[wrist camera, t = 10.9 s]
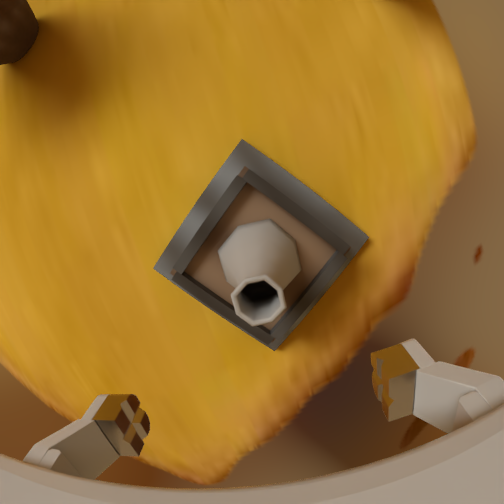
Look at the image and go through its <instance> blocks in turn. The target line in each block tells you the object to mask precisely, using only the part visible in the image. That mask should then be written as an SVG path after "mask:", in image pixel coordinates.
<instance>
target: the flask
mask: <svg viewBox="0 0 504 504" xmlns="http://www.w3.org/2000/svg"><path fill="white" fill-rule="evenodd" d="M218 254H219V258H220V261H221V265H222V268H223V272H224V276H225V279H226V281H227V282H228V283H229V284H230V285H232V286H233V287H234V288H236V289H235V290H234V291H233V292H232V293H231V298H232V302H233V305H234V309H235V312H236V315H237V316H239V317H240V318H241V319H243V320H244V321H246V322H247V323H248V324H250V325H251V326H252V327H253V326H258V325H263V324H267V323H272V322H274V321H275V319H276V318H277V317H278V316H279V315H280V314H281V313H282V312H283V311H284V310H285V309H286V308H287V306H286V301H285V297H284V292H283V290H284V289H285V288H286V287H287V286H288V284H289V283H290V282H291V281H292V280H293V279H294V278H295V277H296V275H297V274H298V273H299V272H300V271H301V265H300V260H299V255H298V251H297V246H296V242H295V239H294V238H293V237H292V236H291V235H289V234H288V233H287V232H286V231H285V230H283V229H282V228H281V227H280V226H279V225H277V224H276V223H275V222H274V221H273V220H271V219H270V218H269V219H265V220H261V221H257V222H252V223H248V224H244V225H240V226H237V228H236V229H235V230H234V231H233V232H232V234H231V235H230V236H229V237H228V239H227V240H226V241H225V242H224V244H223V245H222V246H221V247H220V248H219V250H218Z"/></svg>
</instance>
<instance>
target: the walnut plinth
mask: <svg viewBox="0 0 504 504" xmlns="http://www.w3.org/2000/svg"><path fill="white" fill-rule="evenodd" d="M269 218H270V219H271V220H273V221H274V222H275V223H276V224H277V225H279V226H280V227H281V228H282V229H283V230H285V231H286V232H287V233H288V234H289V235H291V236H292V237H293V238H294V239H295V242H296V246H297V251H298V255H299V260H300V265H301V271H300V272H299V273H298V274H297V275H296V277H295V278H294V279H293V280H292V281H291V282H290V283H289V284H288V286H287V287H286V288H285V289H284V290H283V292H284V297H285V301H286V306H287V308H286V309H285V310H284V311H283V312H282V313H281V314H280V315H279V316H278V317H277V318H276V319H275V321H274V322H272V323H267V324H263V325H258V326H253V327H252V326H251V325H250V324H248V323H247V322H246V321H244V320H243V319H241V318H240V317H239V316H237V315H236V312H235V309H234V305H233V302H232V298H231V293H232V292H233V291H234V290H235V289H236V288H234V287H233V286H232V285H230V284H229V283H228V282H227V281H226V279H225V276H224V272H223V268H222V265H221V261H220V258H219V254H218V250H219V248H220V247H221V246H222V245H223V244H224V242H225V241H226V240H227V239H228V237H229V236H230V235H231V234H232V232H233V231H234V230H235V229H236V228H237V226H240V225H244V224H248V223H252V222H257V221H261V220H265V219H269ZM368 238H369V237H368V236H367V235H366V234H365V233H364V232H362V231H361V230H360V229H359V228H358V227H357V226H355V225H354V224H353V223H352V222H351V221H349V220H348V219H347V218H346V217H345V216H343V215H342V214H341V213H340V212H338V211H337V210H336V209H335V208H333V207H332V206H331V205H330V204H328V203H327V202H326V201H325V200H323V199H322V198H321V197H320V196H318V195H317V194H316V193H315V192H313V191H312V190H311V189H309V188H308V187H307V186H306V185H304V184H303V183H302V182H300V181H299V180H298V179H296V178H295V177H294V176H292V175H291V174H290V173H288V172H287V171H286V170H284V169H283V168H282V167H280V166H279V165H278V164H276V163H275V162H273V161H272V160H271V159H269V158H268V157H267V156H265V155H264V154H262V153H261V152H260V151H258V150H257V149H255V148H254V147H252V146H251V145H250V144H248V143H247V142H245V141H244V140H241V141H240V142H239V144H238V145H237V146H236V148H235V149H234V150H233V152H232V153H231V154H230V156H229V157H228V159H227V160H226V161H225V163H224V164H223V165H222V167H221V168H220V170H219V171H218V172H217V174H216V175H215V176H214V178H213V179H212V181H211V182H210V184H209V185H208V186H207V188H206V189H205V191H204V192H203V194H202V195H201V196H200V198H199V199H198V201H197V202H196V204H195V205H194V207H193V208H192V210H191V211H190V212H189V214H188V215H187V217H186V218H185V220H184V221H183V223H182V224H181V226H180V227H179V229H178V230H177V232H176V233H175V235H174V237H173V238H172V240H171V241H170V243H169V244H168V246H167V247H166V249H165V250H164V252H163V254H162V255H161V257H160V258H159V260H158V262H157V263H156V265H155V266H154V268H153V269H155V270H156V271H157V272H159V273H160V274H161V275H163V276H164V277H166V278H167V279H168V280H170V281H171V282H172V283H174V284H175V285H177V286H178V287H179V288H181V289H182V290H184V291H185V292H187V293H188V294H189V295H191V296H192V297H194V298H195V299H196V300H198V301H199V302H201V303H202V304H204V305H205V306H207V307H208V308H210V309H211V310H212V311H214V312H215V313H217V314H218V315H220V316H221V317H223V318H224V319H226V320H227V321H229V322H230V323H232V324H233V325H235V326H236V327H238V328H239V329H241V330H242V331H244V332H246V333H247V334H249V335H250V336H252V337H253V338H255V339H256V340H258V341H260V342H261V343H263V344H264V345H266V346H267V347H269V348H271V349H272V350H274V351H275V350H276V349H277V348H278V347H279V346H280V345H281V343H282V342H283V341H284V340H285V339H286V338H287V337H288V336H289V334H290V333H291V332H292V331H293V330H294V329H295V328H296V327H297V325H298V324H299V323H300V322H301V321H302V320H303V318H304V317H305V316H306V315H307V314H308V313H309V311H310V310H311V309H312V308H313V307H314V306H315V304H316V303H317V302H318V301H319V300H320V298H321V297H322V296H323V295H324V294H325V292H326V291H327V290H328V289H329V288H330V286H331V285H332V284H333V283H334V281H335V280H336V279H337V278H338V276H339V275H340V274H341V273H342V271H343V270H344V269H345V268H346V266H347V265H348V264H349V263H350V261H351V260H352V259H353V257H354V256H355V255H356V254H357V252H358V251H359V250H360V248H361V247H362V246H363V244H364V243H365V242H366V241H367V239H368Z"/></svg>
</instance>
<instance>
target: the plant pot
mask: <svg viewBox="0 0 504 504" xmlns="http://www.w3.org/2000/svg"><path fill="white" fill-rule="evenodd" d="M38 28H39V26H38V22H37V20H36V18H35V16H34V13H33V12H32V10H31V8H30V6H29V4H28V2H27V1H26V0H0V65H2V64H8V63H13V62H16V61H18V60H19V59H21V58H22V57H23V56H24V55H25V54H26V53H27V52H28V50H29V49H30V48H31V46H32V45H33V43H34V41H35V39H36V37H37V34H38Z"/></svg>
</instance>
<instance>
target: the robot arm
mask: <svg viewBox="0 0 504 504" xmlns="http://www.w3.org/2000/svg"><path fill="white" fill-rule="evenodd" d="M371 364H372V366H373V368H374V372H373V373H372V382H373V387H374V391H375V394H376V396H377V399H378V400H380V401H382V409H383V411H384V414H385V415H386V418H387V420H388V422H389V421H392V420H395V419H399V418H402V417H405V416H408V415H411V414H413V415H415V416H416V417H418V418H420V419H422V420H424V421H425V422H427V423H429V424H431V425H433V426H435V427H437V428H438V429H440V430H442V431H444V432H446V433H448V434H447V435H444V436H442V437H440V438H438V439H436V440H433V441H431V442H429V443H427V444H424V445H421V446H419V447H416V448H414V449H411V450H408V451H406V452H403V453H400V454H397V455H395V456H392V457H389V458H386V459H383V460H379V461H376V462H373V463H370V464H367V465H363V466H360V467H356V468H352V469H348V470H344V471H341V472H336V473H332V474H327V475H323V476H318V477H313V478H308V479H302V480H296V481H290V482H283V483H276V484H268V485H259V486H248V487H235V488H214V489H179V488H176V489H175V488H158V487H145V486H135V485H126V484H118V483H111V482H105V481H99V480H94V479H95V478H96V477H98V476H99V475H100V474H101V473H102V472H103V471H104V470H105V469H107V468H108V467H109V466H110V465H111V464H112V463H113V462H114V461H115V460H117V459H118V458H119V456H139V455H140V452H141V450H142V448H143V445H144V442H143V440H142V439H144V438H145V437H146V436H147V435H148V433H149V430H150V422H149V418H148V416H147V414H146V412H145V411H144V410H142V409H141V408H139V406H140V402H139V400H138V398H137V397H136V396H135V395H133V394H111V395H110V394H101V395H98V396H97V397H96V399H95V400H94V401H93V403H92V404H91V406H90V407H89V409H88V410H87V411H86V413H85V414H84V416H83V417H82V419H81V420H79V419H78V420H76V421H74V422H73V423H71V424H70V425H68V426H66V427H64V428H63V429H61V430H59V431H57V432H56V433H54V434H52V435H50V436H48V437H47V438H45V439H43V440H41V441H40V442H38V443H36V444H35V445H34V446H33V447H32V449H31V450H30V451H29V453H28V454H27V456H26V457H25V458H24V460H23V461H20V460H17V459H14V458H11V457H8V456H6V455H3V454H1V453H0V504H504V381H503V379H502V378H501V377H500V376H497V375H493V374H488V373H484V372H480V371H476V370H472V369H468V368H464V367H460V366H456V365H452V364H448V363H444V362H441V361H439V362H435V361H434V360H433V359H432V358H431V357H430V355H429V354H428V353H427V352H426V351H425V350H424V349H423V347H422V346H421V345H420V344H419V343H418V342H417V341H416V339H410V340H407V341H405V342H402V343H400V344H398V345H395V346H392V347H389V348H386V349H382V350H379V351H376V352H373V353H371Z"/></svg>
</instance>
